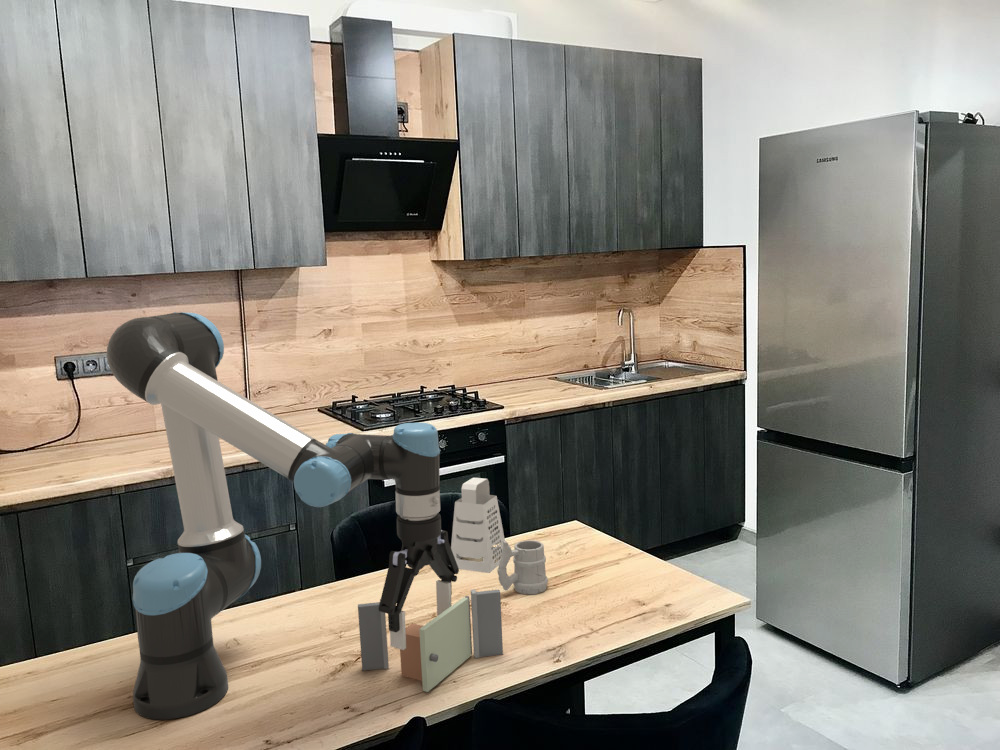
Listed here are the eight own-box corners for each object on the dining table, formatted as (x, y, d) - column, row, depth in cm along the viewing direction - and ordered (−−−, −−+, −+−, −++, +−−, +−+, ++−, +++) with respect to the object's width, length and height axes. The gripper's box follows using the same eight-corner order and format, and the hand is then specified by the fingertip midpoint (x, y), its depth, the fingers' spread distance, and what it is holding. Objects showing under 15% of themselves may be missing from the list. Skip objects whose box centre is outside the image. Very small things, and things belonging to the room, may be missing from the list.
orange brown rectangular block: (401, 675, 146) (398, 632, 145) (414, 665, 149) (412, 623, 148) (434, 684, 142) (432, 640, 141) (447, 673, 146) (445, 630, 145)
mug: (555, 589, 180) (553, 536, 178) (508, 603, 174) (506, 548, 172) (535, 578, 186) (533, 527, 185) (490, 591, 180) (488, 538, 179)
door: (432, 693, 138) (429, 631, 137) (422, 690, 139) (419, 629, 138) (478, 654, 151) (475, 597, 149) (468, 652, 152) (465, 595, 150)
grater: (507, 557, 200) (504, 477, 197) (489, 573, 191) (485, 489, 188) (468, 552, 205) (465, 473, 202) (449, 567, 195) (444, 485, 192)
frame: (362, 671, 148) (357, 605, 146) (362, 666, 149) (357, 601, 148) (503, 655, 151) (500, 590, 150) (501, 650, 153) (498, 586, 151)
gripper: (390, 540, 129) (395, 667, 132) (476, 497, 150) (478, 608, 153) (353, 532, 133) (358, 656, 136) (442, 492, 154) (445, 600, 157)
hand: (422, 631), depth 144 cm, fingers open, 13 cm apart
